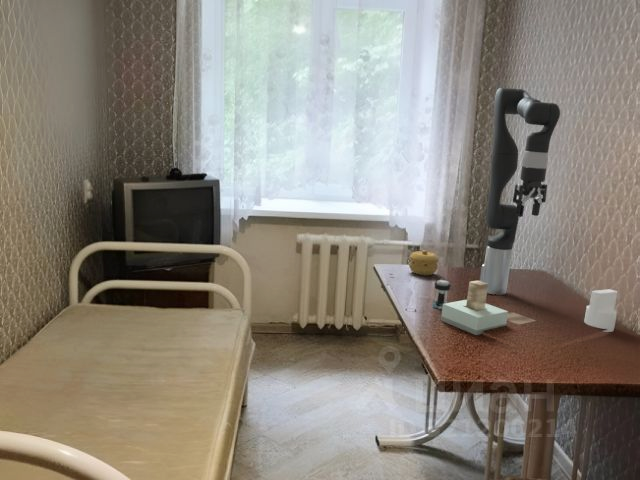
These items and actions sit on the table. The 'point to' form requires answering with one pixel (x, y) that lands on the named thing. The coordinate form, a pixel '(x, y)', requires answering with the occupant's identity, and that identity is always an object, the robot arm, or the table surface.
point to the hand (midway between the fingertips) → (527, 216)
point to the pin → (477, 295)
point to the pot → (423, 262)
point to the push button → (441, 293)
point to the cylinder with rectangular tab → (602, 310)
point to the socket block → (473, 317)
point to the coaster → (518, 318)
